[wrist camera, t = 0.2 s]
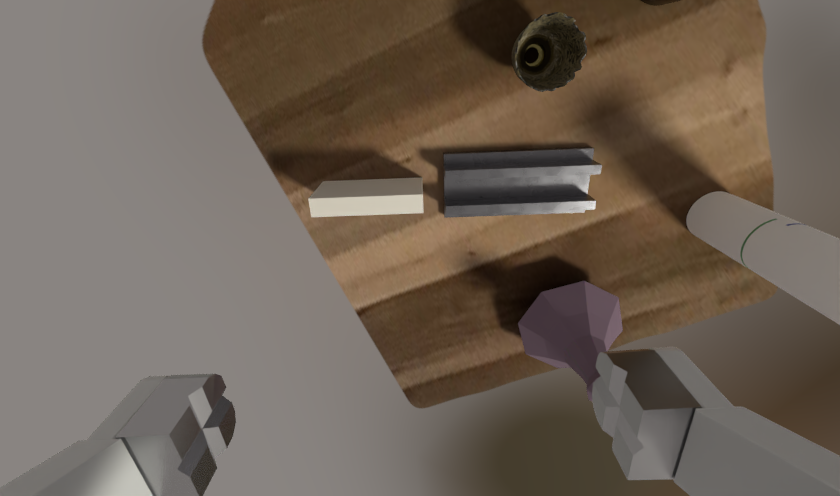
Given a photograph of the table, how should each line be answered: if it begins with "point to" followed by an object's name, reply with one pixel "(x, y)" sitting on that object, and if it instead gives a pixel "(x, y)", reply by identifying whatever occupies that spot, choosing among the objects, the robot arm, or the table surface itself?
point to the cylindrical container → (772, 248)
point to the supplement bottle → (658, 2)
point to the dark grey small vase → (549, 52)
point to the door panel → (367, 197)
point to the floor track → (518, 182)
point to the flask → (572, 328)
